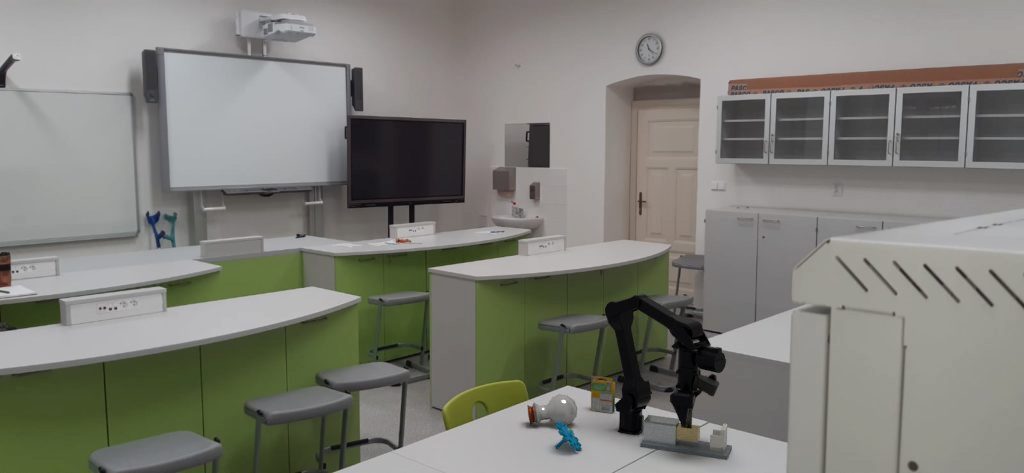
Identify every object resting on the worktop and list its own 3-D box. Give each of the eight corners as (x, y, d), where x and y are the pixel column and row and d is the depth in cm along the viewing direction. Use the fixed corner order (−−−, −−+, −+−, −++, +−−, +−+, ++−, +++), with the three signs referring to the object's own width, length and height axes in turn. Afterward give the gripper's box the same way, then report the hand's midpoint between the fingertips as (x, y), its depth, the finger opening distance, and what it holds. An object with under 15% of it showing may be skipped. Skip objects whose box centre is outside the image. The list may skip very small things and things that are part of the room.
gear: (580, 451, 215) (555, 422, 217) (564, 465, 216) (540, 436, 218) (586, 443, 226) (563, 416, 228) (571, 456, 227) (548, 429, 229)
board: (640, 446, 224) (640, 443, 224) (647, 436, 232) (647, 433, 232) (727, 459, 215) (727, 456, 215) (731, 448, 223) (731, 445, 223)
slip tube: (647, 435, 226) (648, 405, 225) (650, 431, 229) (651, 402, 228) (697, 442, 220) (698, 412, 219) (699, 438, 223) (700, 408, 223)
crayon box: (615, 411, 256) (615, 376, 255) (612, 413, 254) (613, 378, 253) (593, 408, 259) (594, 373, 258) (590, 410, 257) (591, 375, 256)
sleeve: (643, 441, 225) (644, 420, 225) (647, 435, 230) (648, 414, 230) (675, 446, 222) (675, 424, 221) (678, 440, 227) (679, 418, 226)
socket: (709, 451, 218) (710, 428, 217) (712, 444, 223) (713, 422, 223) (723, 453, 216) (724, 430, 216) (726, 446, 222) (727, 424, 221)
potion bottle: (580, 430, 242) (531, 437, 241) (573, 404, 249) (526, 410, 248) (581, 411, 236) (531, 418, 234) (574, 385, 243) (526, 392, 242)
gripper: (712, 377, 210) (710, 434, 211) (722, 361, 227) (720, 414, 228) (670, 372, 214) (668, 428, 215) (683, 357, 231) (681, 409, 233)
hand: (686, 420), depth 223 cm, fingers open, 9 cm apart
